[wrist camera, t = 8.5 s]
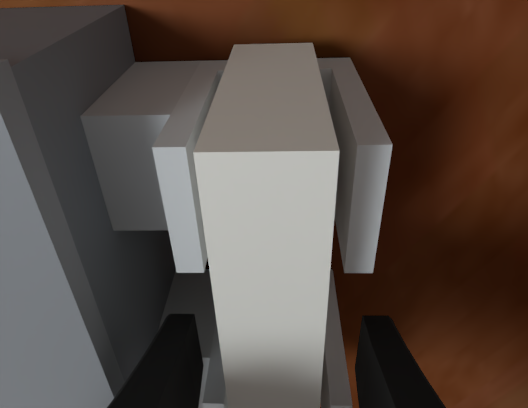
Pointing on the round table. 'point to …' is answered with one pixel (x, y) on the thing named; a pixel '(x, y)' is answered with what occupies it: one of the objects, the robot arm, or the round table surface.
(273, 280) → the door panel
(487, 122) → the round table surface
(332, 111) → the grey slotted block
